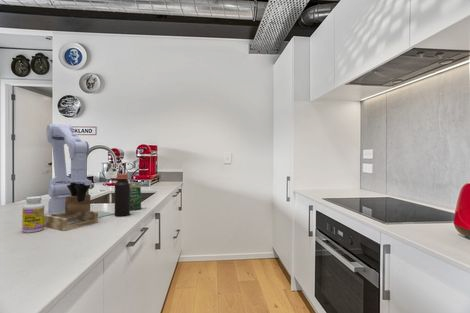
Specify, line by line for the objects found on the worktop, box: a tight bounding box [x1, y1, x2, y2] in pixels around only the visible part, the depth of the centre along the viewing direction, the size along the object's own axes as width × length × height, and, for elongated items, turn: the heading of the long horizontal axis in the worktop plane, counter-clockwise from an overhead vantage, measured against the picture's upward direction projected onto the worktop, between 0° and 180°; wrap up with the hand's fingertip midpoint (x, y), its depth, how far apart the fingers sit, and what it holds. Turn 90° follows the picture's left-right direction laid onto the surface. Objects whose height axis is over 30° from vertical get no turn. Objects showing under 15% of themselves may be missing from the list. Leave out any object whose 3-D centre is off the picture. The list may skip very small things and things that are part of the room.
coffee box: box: [130, 184, 142, 211], centre depth 137 cm, size 8×3×13 cm, turn 122°
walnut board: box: [65, 193, 92, 214], centre depth 110 cm, size 3×9×7 cm, turn 154°
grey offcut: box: [51, 211, 73, 218], centre depth 111 cm, size 4×7×2 cm, turn 164°
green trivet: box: [94, 210, 115, 219], centre depth 125 cm, size 12×12×1 cm
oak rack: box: [44, 210, 99, 232], centre depth 109 cm, size 18×14×4 cm
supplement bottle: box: [21, 195, 45, 234], centre depth 99 cm, size 7×7×13 cm
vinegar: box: [114, 173, 131, 217], centre depth 125 cm, size 7×7×20 cm
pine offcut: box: [66, 216, 77, 224], centre depth 111 cm, size 5×9×2 cm, turn 155°
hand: (78, 201), depth 110 cm, fingers closed on walnut board, 3 cm apart
